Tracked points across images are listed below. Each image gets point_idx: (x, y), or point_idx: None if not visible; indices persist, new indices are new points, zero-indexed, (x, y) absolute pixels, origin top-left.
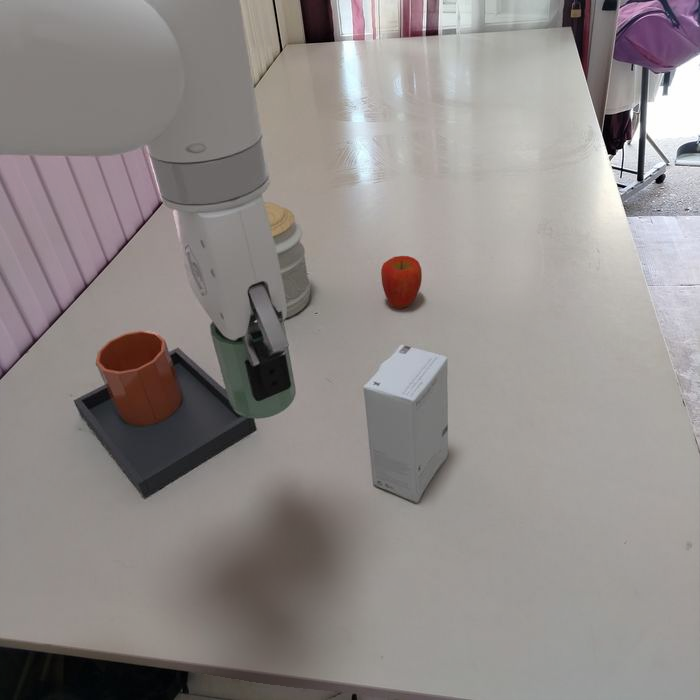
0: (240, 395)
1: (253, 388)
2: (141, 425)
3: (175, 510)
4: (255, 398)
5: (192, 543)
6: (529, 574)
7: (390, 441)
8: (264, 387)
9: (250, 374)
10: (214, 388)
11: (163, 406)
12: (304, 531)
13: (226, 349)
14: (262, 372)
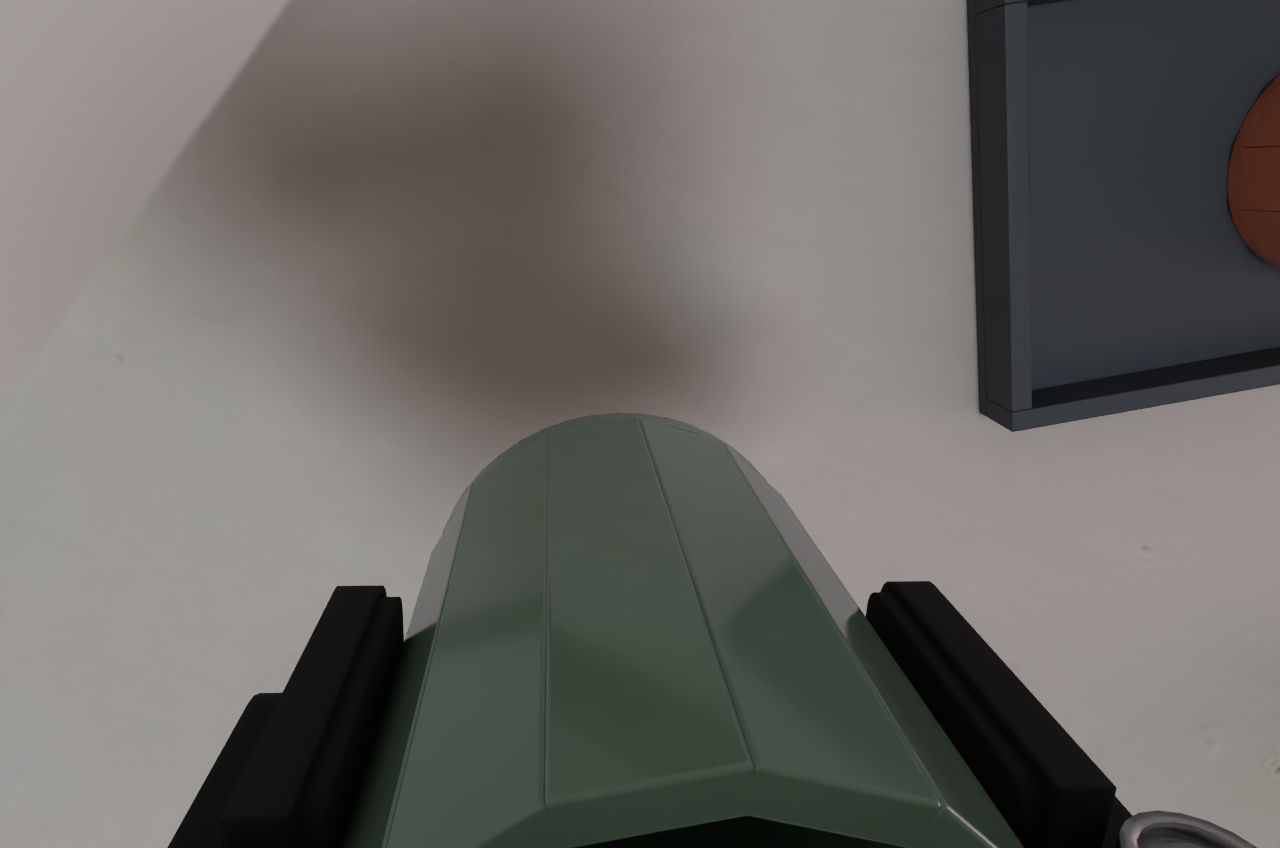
0: (496, 514)
1: (308, 647)
2: (1261, 94)
3: (858, 66)
4: (337, 594)
5: (711, 66)
6: (154, 744)
7: None
8: (246, 720)
9: (261, 740)
10: (1214, 374)
11: (1269, 189)
12: (558, 365)
13: (488, 767)
14: (174, 842)
